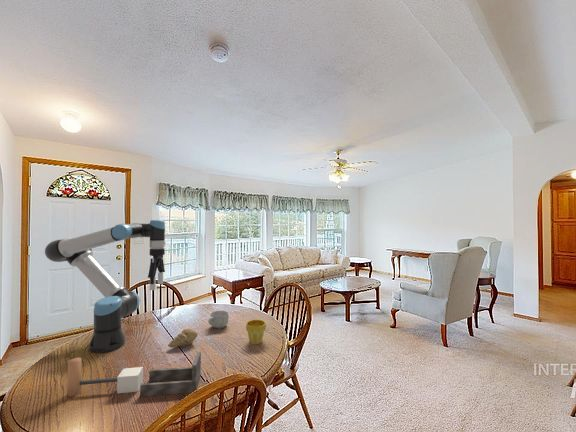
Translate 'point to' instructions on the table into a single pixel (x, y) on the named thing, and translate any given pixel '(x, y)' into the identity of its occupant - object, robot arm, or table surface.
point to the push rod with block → (125, 381)
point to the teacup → (219, 319)
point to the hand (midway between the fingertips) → (156, 286)
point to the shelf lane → (173, 374)
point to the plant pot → (255, 330)
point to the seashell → (184, 338)
